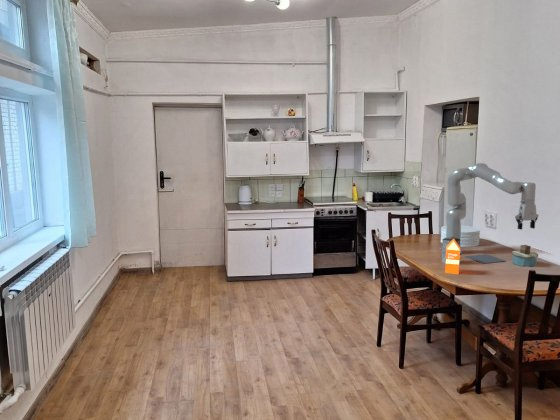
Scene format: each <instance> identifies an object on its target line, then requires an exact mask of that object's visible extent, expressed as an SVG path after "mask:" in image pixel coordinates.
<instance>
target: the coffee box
mask: <svg viewBox="0 0 560 420" xmlns="http://www.w3.org/2000/svg"><path fill="white" fill-rule="evenodd" d="M453 239H454V240H455V241H456V243H457V244H458V246H459V247H460V239H458V238H454V237H451V238H444V239H443V243H442V247H441V248H442V250H441V252H442V253H441V263H444V264H446V247H447V246H448V245H449V243H450V242H451V241H452V240H453ZM460 248H461V247H460Z"/></svg>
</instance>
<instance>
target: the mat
mask: <svg viewBox="0 0 560 420" xmlns="http://www.w3.org/2000/svg"><path fill="white" fill-rule="evenodd" d="M464 258H466V259H469V260H470V261H475V262H477V263H480V264H483V265H484V264H495V263H503V262H505V263H506V262H507V260H505V259H502V258H499V257H495V256H493V255H489V254H488V253H487V254H486V253H485V254H477V255H466V256H465V255H464Z"/></svg>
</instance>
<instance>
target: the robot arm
mask: <svg viewBox="0 0 560 420" xmlns="http://www.w3.org/2000/svg"><path fill="white" fill-rule="evenodd" d="M476 178H479V179H481V180H484V181H485V182H488V183H490V184H491V185H493V186H494V187H496V188H497V189H499V190H501V191H503V192H505V193H507V194H510V195H516V194H521V198H520V199H521V200H520V202H519V203H520V204H519V208H518V214H516V215H515V216H514V217H515V221H516V223H517V229H518V230H521V231H522V230H523V224H524V223H523V222H524V221H530V223H529V228H530V229H534V230H535V228H536V227H535V226H536V223H537V221H538V218H539V214H537V206H536V204H535V203H536V187H537V185H536V183H534V182H522V181H511V180H509V179H507V178H505V177H503V176H502V175H501V173H500V172H499V171H497V170H495V169H492V168H491V167H489V166H488V165H487V164H486V163H484V162H479V163H475V164H474V165H471V166H468V167H464V168H463V167H461V168H457V169H455V170H453V171H452V172H450V174H449V175H448V177H447V203H448V205H449V206H450V207H452V208H451V209H449V210H448V211H447V212H446V215H445V220H446V222H445V223H446V226H447V229H446V238H451V237H454V238H458V239H460V238H461V225H462V223H461V221H462V220H464V219H465V218H466V215H467V198H466V196H465V194H464V193H463V192H461V189H462V187H461V182H462V181H463V182H464V181H467V180H472V179H476ZM439 250H440V251H442V247H439ZM462 254H463V251H462V250H461V249H460V255H462Z"/></svg>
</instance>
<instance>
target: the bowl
mask: <svg viewBox="0 0 560 420" xmlns="http://www.w3.org/2000/svg"><path fill="white" fill-rule="evenodd" d="M537 258H538V257H536V258H525V257H518V256H515V255H513V254H512V264H513V265H516V266H520V267H530V268H531V267H536V265H537Z"/></svg>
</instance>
